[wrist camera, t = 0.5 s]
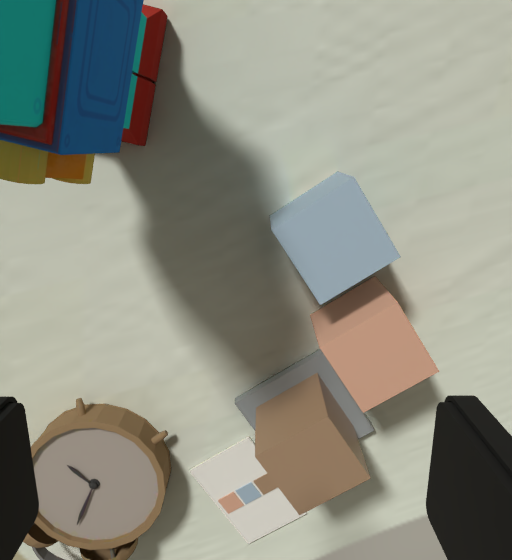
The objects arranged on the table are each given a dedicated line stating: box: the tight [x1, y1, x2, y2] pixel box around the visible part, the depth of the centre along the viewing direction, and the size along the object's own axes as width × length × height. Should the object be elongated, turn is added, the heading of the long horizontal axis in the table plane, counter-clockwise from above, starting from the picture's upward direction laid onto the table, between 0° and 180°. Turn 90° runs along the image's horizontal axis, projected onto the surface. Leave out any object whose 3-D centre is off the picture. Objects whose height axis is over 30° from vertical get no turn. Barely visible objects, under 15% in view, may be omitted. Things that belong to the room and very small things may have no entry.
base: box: [235, 349, 374, 515], centre depth 34 cm, size 8×8×7 cm
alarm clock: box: [23, 398, 171, 560], centre depth 38 cm, size 11×5×15 cm
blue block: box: [270, 172, 400, 305], centre depth 31 cm, size 6×6×6 cm
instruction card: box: [189, 436, 306, 544], centre depth 39 cm, size 6×9×1 cm, turn 33°
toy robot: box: [0, 0, 167, 184], centre depth 19 cm, size 12×6×25 cm, turn 166°
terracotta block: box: [310, 276, 439, 413], centre depth 33 cm, size 6×6×6 cm
